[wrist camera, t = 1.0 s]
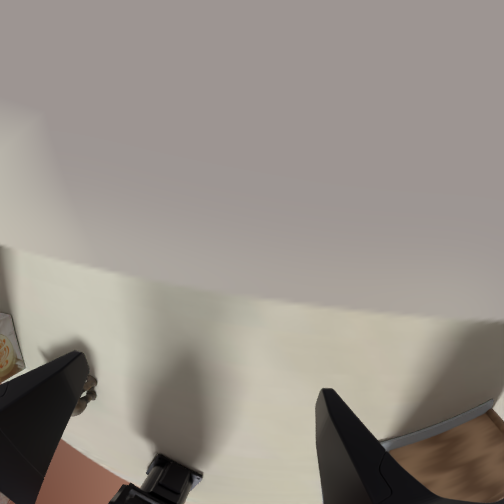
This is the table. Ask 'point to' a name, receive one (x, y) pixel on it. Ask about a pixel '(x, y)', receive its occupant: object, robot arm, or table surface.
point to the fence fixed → (460, 460)
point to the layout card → (436, 428)
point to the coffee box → (9, 349)
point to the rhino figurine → (89, 396)
